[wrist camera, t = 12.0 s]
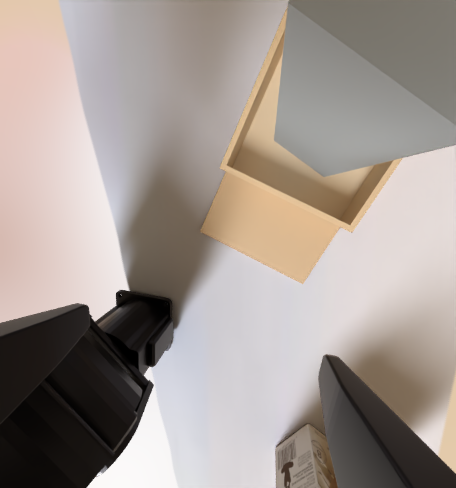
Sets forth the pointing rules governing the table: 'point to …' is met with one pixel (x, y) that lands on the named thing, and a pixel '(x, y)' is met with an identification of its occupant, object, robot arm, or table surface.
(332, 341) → the table surface
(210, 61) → the table surface
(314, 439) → the coffee box
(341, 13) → the slate block
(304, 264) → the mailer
